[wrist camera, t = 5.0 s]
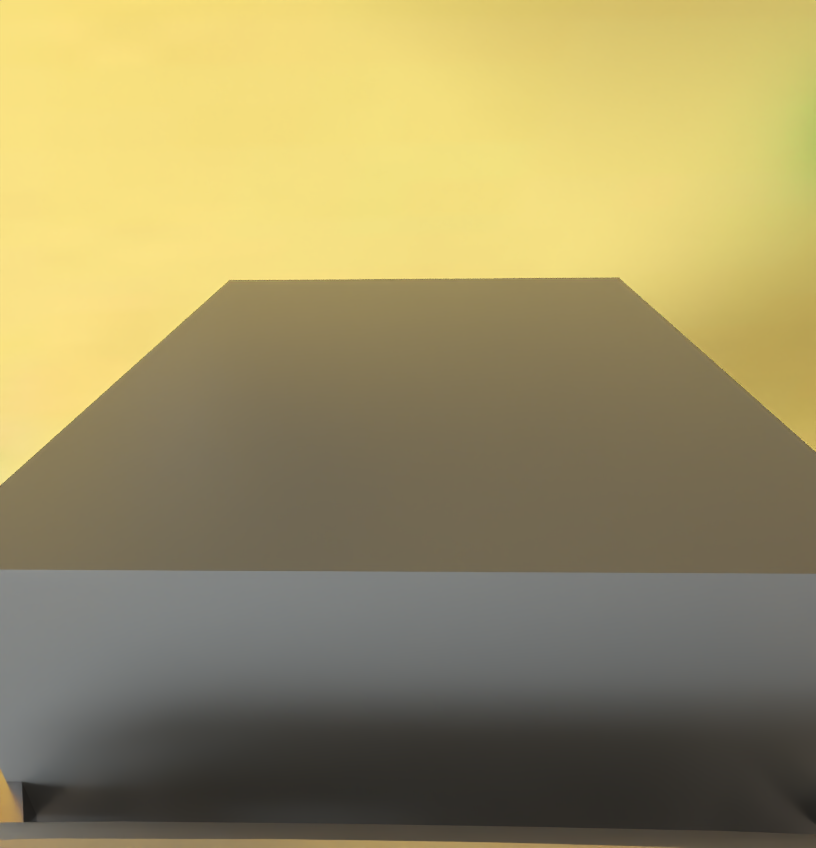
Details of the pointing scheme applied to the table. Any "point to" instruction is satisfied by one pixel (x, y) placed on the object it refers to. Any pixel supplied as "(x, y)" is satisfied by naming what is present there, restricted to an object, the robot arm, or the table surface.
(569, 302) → the grey tapered block
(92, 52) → the table surface
